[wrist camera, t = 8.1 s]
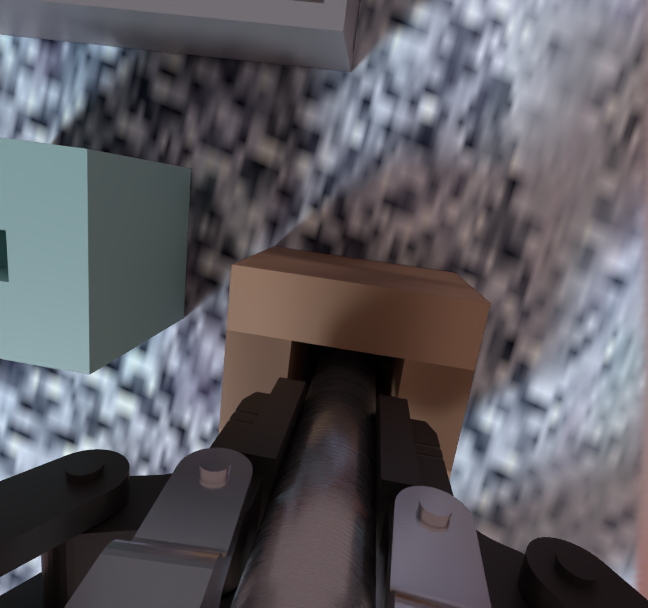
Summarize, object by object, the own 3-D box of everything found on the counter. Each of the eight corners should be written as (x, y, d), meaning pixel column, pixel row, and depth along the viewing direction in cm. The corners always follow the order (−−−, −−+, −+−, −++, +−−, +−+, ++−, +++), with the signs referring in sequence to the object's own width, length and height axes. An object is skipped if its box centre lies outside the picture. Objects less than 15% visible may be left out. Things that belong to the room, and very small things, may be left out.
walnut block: (257, 407, 18) (215, 482, 13) (273, 246, 16) (231, 264, 12) (421, 437, 18) (438, 526, 13) (455, 272, 16) (490, 303, 11)
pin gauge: (316, 385, 15) (131, 952, 4) (323, 333, 15) (134, 801, 3) (371, 394, 15) (356, 1020, 4) (379, 342, 15) (397, 873, 3)
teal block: (50, 296, 18) (-104, 340, 12) (45, 149, 17) (-133, 120, 11) (183, 317, 18) (89, 374, 12) (191, 168, 16) (87, 148, 10)
